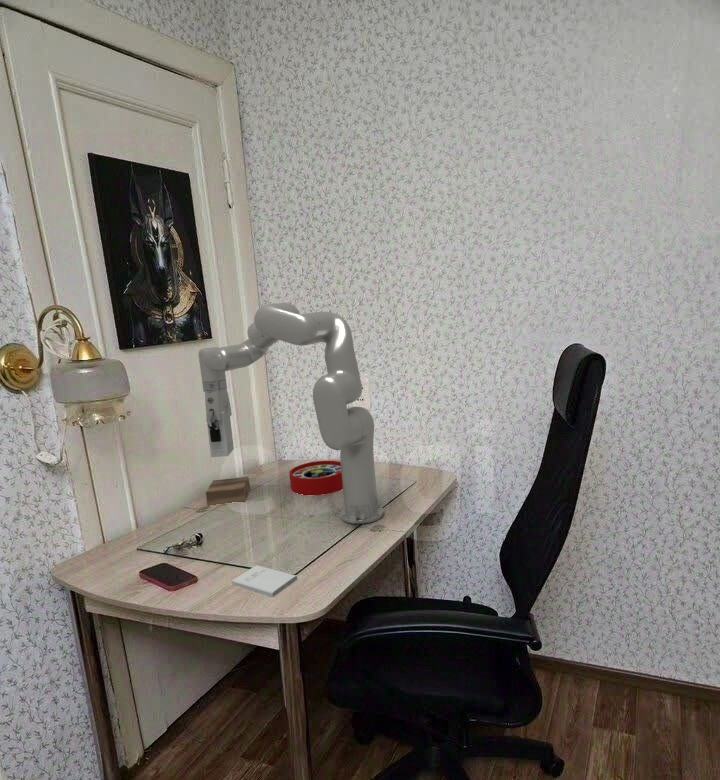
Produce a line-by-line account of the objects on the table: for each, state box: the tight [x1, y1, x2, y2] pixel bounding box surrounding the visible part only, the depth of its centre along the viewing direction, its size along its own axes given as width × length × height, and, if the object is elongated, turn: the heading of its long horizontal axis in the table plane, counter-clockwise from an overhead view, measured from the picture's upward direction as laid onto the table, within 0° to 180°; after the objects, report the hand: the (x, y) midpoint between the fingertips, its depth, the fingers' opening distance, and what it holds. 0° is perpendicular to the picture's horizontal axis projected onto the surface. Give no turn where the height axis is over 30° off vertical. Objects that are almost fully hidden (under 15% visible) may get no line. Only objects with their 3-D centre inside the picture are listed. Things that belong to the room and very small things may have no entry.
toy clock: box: [288, 460, 343, 496], centre depth 184 cm, size 20×6×20 cm
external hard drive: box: [231, 564, 298, 598], centre depth 122 cm, size 2×8×12 cm
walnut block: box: [205, 476, 251, 507], centre depth 180 cm, size 12×12×5 cm
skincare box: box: [205, 411, 234, 458], centre depth 176 cm, size 8×6×15 cm
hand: (221, 437), depth 177 cm, fingers closed on skincare box, 8 cm apart
